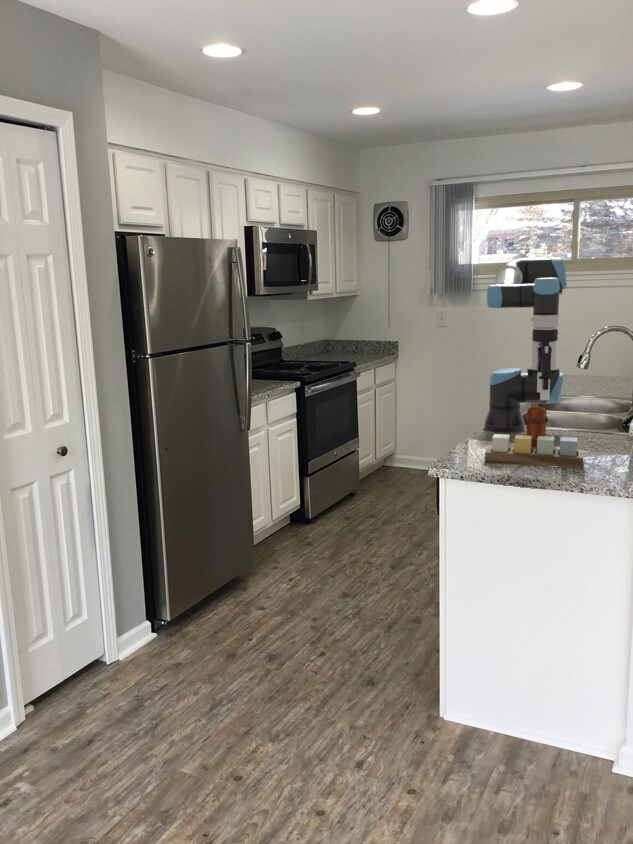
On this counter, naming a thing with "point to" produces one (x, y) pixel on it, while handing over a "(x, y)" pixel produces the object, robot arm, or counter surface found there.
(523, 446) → the key mustard
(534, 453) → the keypad board
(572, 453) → the key slate
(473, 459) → the counter surface
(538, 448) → the key sage
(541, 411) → the orange bottle
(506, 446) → the key cream
